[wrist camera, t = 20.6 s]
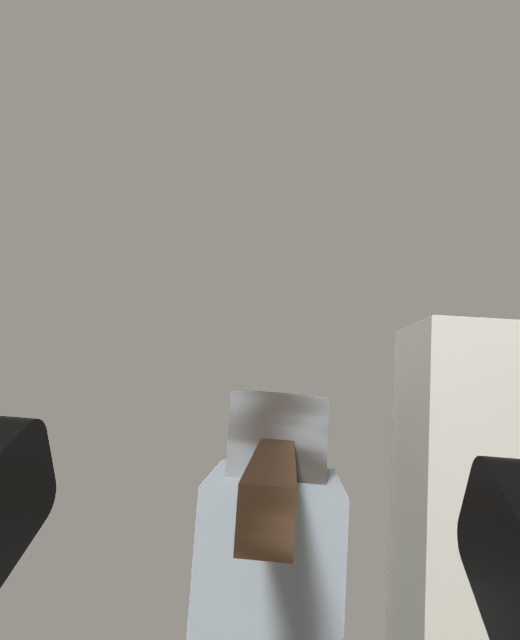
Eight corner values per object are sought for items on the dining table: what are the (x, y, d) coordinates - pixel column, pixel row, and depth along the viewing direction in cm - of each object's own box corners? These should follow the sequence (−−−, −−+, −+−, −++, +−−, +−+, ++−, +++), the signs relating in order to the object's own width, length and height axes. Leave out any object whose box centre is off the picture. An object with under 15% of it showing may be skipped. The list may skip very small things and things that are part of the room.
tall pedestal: (506, 838, 30) (508, 338, 34) (598, 1032, 21) (586, 323, 25) (379, 821, 31) (395, 331, 34) (416, 1003, 22) (432, 314, 26)
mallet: (319, 466, 34) (323, 395, 34) (354, 569, 15) (361, 413, 16) (236, 459, 34) (241, 390, 35) (173, 552, 16) (186, 401, 16)
